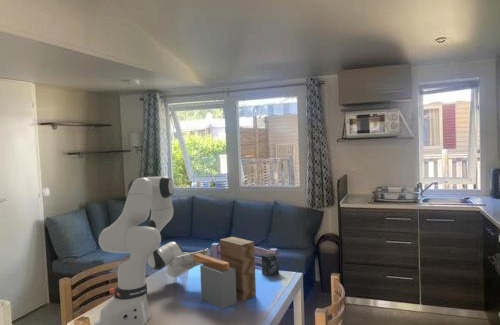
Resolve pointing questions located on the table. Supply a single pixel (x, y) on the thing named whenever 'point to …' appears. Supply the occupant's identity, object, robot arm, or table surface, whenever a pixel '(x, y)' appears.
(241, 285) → the tall plinth
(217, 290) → the low plinth
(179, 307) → the table surface
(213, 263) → the bar
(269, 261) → the box
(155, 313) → the table surface
